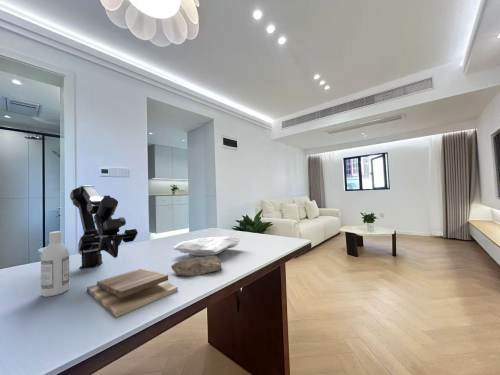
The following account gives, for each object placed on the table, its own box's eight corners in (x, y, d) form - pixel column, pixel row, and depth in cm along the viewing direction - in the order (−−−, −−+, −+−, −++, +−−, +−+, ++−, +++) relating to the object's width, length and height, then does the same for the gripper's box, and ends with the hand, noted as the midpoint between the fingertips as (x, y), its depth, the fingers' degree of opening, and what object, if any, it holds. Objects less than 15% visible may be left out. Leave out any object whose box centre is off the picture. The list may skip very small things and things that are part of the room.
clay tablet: (171, 281, 78) (224, 272, 85) (170, 267, 78) (223, 259, 85) (171, 269, 91) (217, 262, 98) (171, 257, 91) (217, 251, 98)
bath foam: (67, 285, 75) (66, 229, 76) (71, 291, 71) (70, 231, 71) (39, 293, 70) (39, 232, 70) (42, 299, 66) (42, 234, 66)
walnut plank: (96, 281, 71) (121, 291, 58) (139, 268, 82) (167, 275, 69) (97, 286, 71) (121, 297, 58) (140, 273, 82) (168, 280, 69)
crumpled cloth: (249, 253, 104) (248, 235, 105) (173, 263, 91) (173, 241, 93) (235, 249, 125) (234, 233, 127) (173, 256, 113) (172, 239, 115)
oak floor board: (87, 290, 71) (87, 287, 71) (141, 273, 85) (141, 270, 85) (116, 317, 55) (116, 312, 55) (177, 290, 70) (177, 286, 70)
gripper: (80, 213, 74) (90, 250, 67) (135, 209, 89) (148, 238, 82) (74, 233, 79) (83, 269, 72) (127, 226, 94) (139, 255, 87)
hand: (116, 257), depth 78 cm, fingers closed
